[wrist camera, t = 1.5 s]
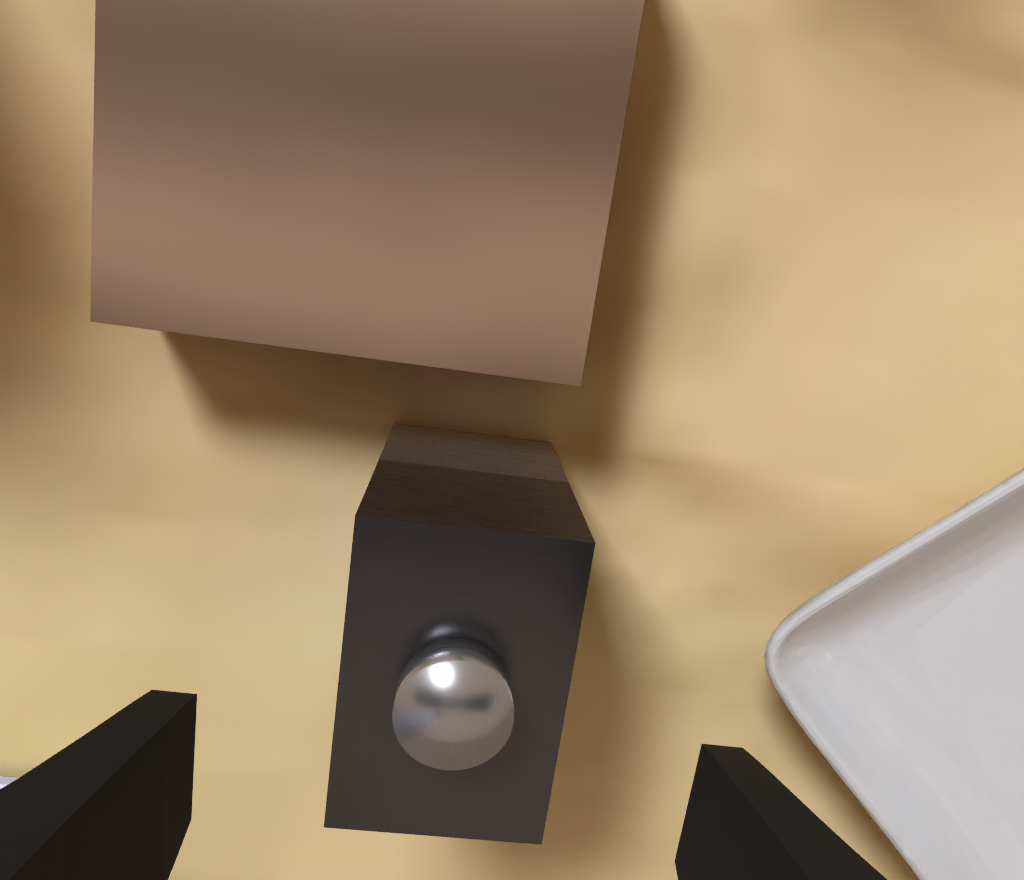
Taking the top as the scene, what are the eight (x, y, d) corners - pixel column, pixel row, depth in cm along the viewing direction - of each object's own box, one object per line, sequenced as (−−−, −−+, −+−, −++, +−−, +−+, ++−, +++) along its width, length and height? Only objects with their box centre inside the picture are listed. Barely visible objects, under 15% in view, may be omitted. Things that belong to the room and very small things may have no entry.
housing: (517, 652, 21) (546, 878, 13) (371, 638, 21) (315, 861, 13) (550, 442, 20) (603, 561, 12) (394, 422, 19) (348, 532, 12)
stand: (563, 366, 19) (581, 386, 16) (150, 310, 18) (90, 321, 15) (634, -83, 17) (670, -153, 14) (167, -172, 16) (100, -266, 13)
